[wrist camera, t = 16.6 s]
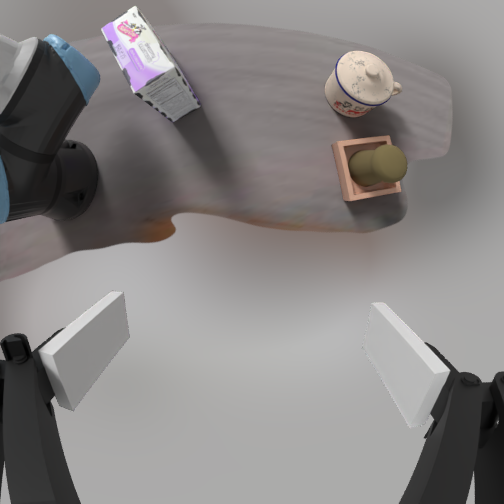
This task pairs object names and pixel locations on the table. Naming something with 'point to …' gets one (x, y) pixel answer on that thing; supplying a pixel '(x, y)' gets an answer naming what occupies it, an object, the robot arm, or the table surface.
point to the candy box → (149, 65)
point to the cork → (377, 165)
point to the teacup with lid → (360, 84)
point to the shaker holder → (348, 186)
